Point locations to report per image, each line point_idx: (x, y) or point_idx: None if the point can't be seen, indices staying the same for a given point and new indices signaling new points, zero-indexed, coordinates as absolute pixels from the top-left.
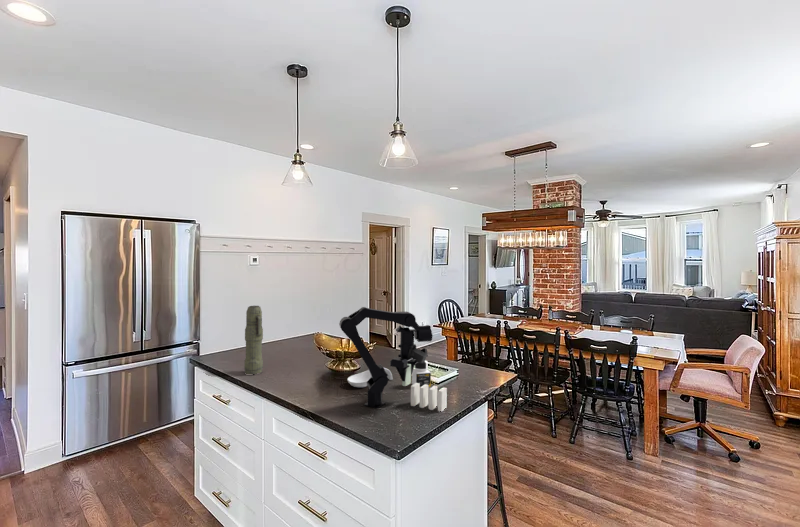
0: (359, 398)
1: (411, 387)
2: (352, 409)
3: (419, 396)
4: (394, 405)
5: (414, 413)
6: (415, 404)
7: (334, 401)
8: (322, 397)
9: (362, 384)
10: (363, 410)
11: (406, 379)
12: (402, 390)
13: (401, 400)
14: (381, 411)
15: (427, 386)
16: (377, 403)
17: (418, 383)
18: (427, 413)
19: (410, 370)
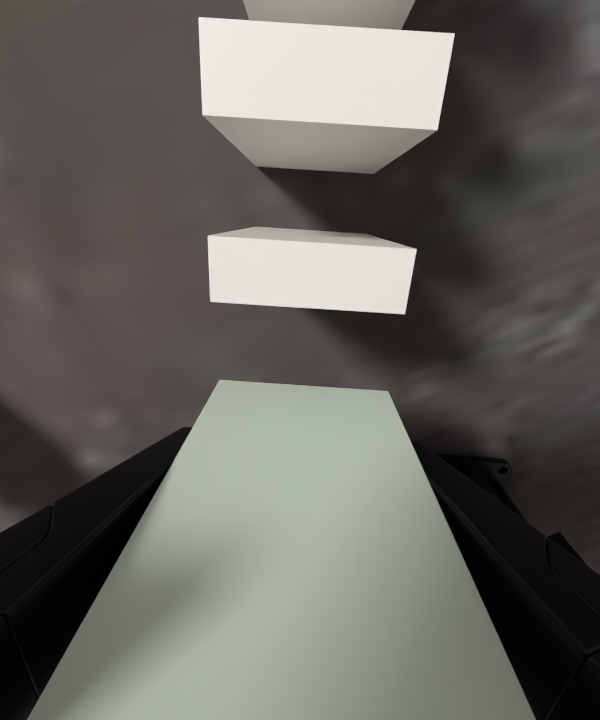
0: None
1: (400, 299)
2: None
3: (247, 228)
4: (407, 385)
5: (538, 157)
6: (342, 232)
7: None
8: None
9: None
10: (557, 512)
11: (377, 440)
12: (88, 453)
13: (285, 381)
14: (551, 417)
15: (252, 31)
16: (489, 486)
17: (227, 251)
18: (509, 16)
19: (171, 537)
